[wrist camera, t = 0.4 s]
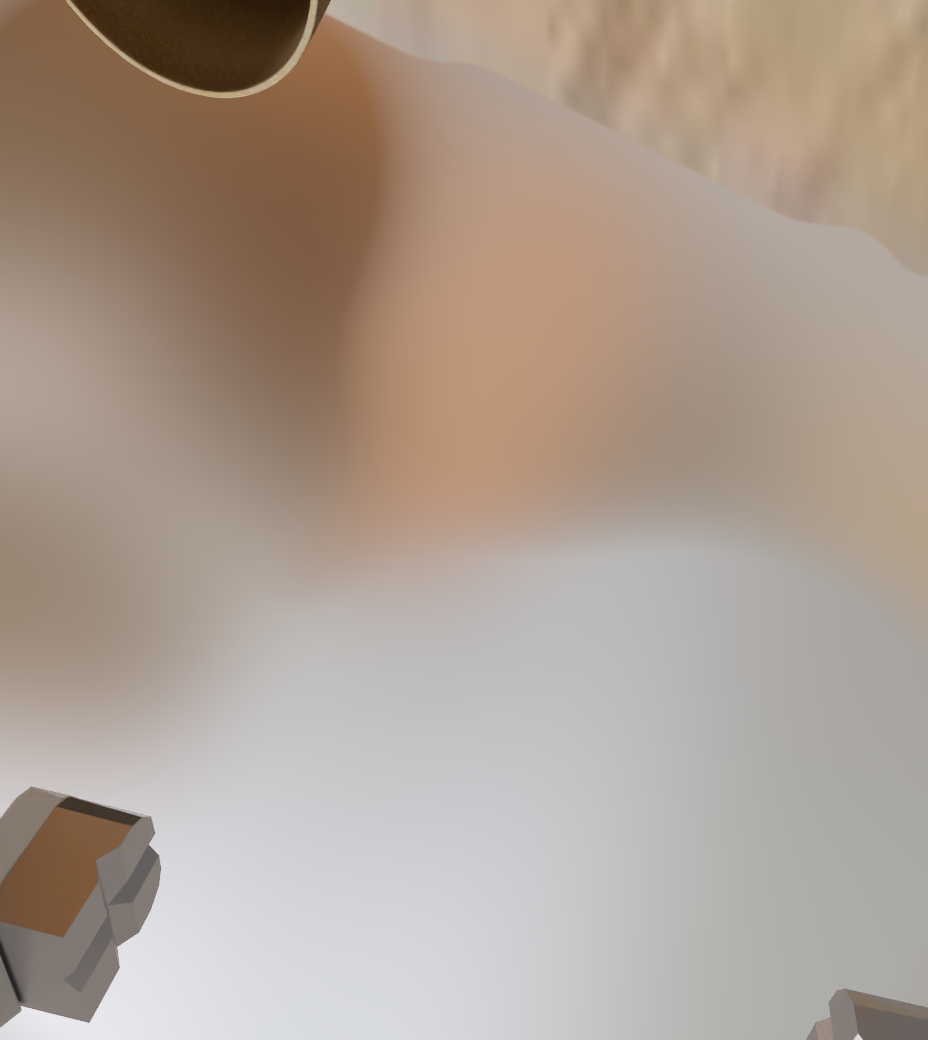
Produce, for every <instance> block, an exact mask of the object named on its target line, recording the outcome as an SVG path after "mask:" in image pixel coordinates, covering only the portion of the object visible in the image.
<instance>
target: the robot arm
mask: <svg viewBox="0 0 928 1040" xmlns="http://www.w3.org/2000/svg"><path fill="white" fill-rule="evenodd" d="M154 834H155V831H154V827H153V823H152V819H151V816H147V815H143V814H139V813H135V812H131V811H126V810H123V809H118V808H114V807H111V806H107V805H102V804H98V803H94V802H90V801H86V800H82V799H78V798H76V797H73V796H69V795H65V794H61V793H57V792H52V791H48V790H44V789H40V788H35V787H30V788H29V789H28V790H26V791H25V792H24V793H22V794H21V795H20V796H18V797H17V798H16V799H15V800H14V801H13V803H12V804H11V805H10V807H9V808H8V809H7V810H6V812H5V813H4V814H3V816H2V817H1V818H0V1027H1V1026H3V1025H4V1024H5V1023H7V1022H8V1021H9V1020H10V1019H11V1018H13V1017H14V1016H15V1015H17V1014H18V1013H19V1012H20V1011H21V1007H20V1006H24V1007H28V1008H32V1009H36V1010H40V1011H44V1012H48V1013H52V1014H56V1015H60V1016H64V1017H68V1018H73V1019H76V1020H80V1021H84V1022H88V1023H89V1022H90V1021H91V1018H92V1017H93V1015H94V1013H95V1011H96V1009H97V1008H98V1006H99V1004H100V1002H101V1001H102V999H103V997H104V995H105V993H106V992H107V990H108V988H109V986H110V984H111V982H112V981H113V979H114V977H115V975H116V973H117V972H118V970H119V959H118V950H117V946H119V945H121V944H122V943H123V942H125V941H126V940H128V939H130V938H131V937H133V936H134V935H136V934H137V933H139V931H140V929H141V927H142V925H143V924H144V922H145V920H146V918H147V916H148V914H149V912H150V910H151V908H152V904H153V902H154V899H155V895H156V893H157V890H158V887H159V880H160V871H161V866H160V859H159V855H158V854H157V853H156V852H155V851H154V850H153V849H152V848H151V847H150V846H149V843H150V841H151V839H152V838H153V836H154ZM829 1008H830V1016H831V1018H828V1019H825V1020H822V1021H819V1022H816V1023H815V1025H814V1026H813V1028H812V1030H811V1032H810V1034H809V1036H808V1037H807V1040H928V1008H927V1007H923V1006H918V1005H914V1004H910V1003H905V1002H901V1001H897V1000H892V999H888V998H883V997H879V996H874V995H870V994H866V993H861V992H857V991H853V990H848V989H842V990H838V991H836V993H835V994H834V996H833V997H832V998H831V1000H830V1001H829Z"/></svg>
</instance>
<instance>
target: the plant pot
mask: <svg viewBox="0 0 928 1040" xmlns="http://www.w3.org/2000/svg"><path fill="white" fill-rule="evenodd" d="M66 1H67V2H68V4H69V5H70V6H71V7H72V8H73V10H74V11H75V12H76V13H77V14H78V15H79V16H80V18H81V19H82V20H83V21H84V22H85V23H86V24H87V25H88V26H89V27H90V28H91V30H92V31H93V32H94V33H95V34H97V35H98V36H99V37H100V38H101V39H102V40H103V41H104V42H105V43H106V44H107V45H108V46H110V47H111V48H112V49H113V50H114V51H116V52H117V53H118V54H119V55H121V56H122V57H123V58H124V59H126V60H127V61H128V62H130V63H131V64H133V65H134V66H136V67H138V68H139V69H141V70H142V71H144V72H145V73H147V74H148V75H150V76H152V77H154V78H156V79H158V80H159V81H161V82H164V83H166V84H168V85H171V86H173V87H176V88H178V89H181V90H184V91H187V92H190V93H195V94H199V95H203V96H208V97H217V98H234V97H242V96H248V95H251V94H254V93H257V92H260V91H262V90H264V89H267V88H269V87H270V86H272V85H274V84H275V83H277V82H278V81H279V80H281V79H282V78H283V77H285V75H287V74H288V73H289V72H290V71H291V70H292V69H293V67H294V66H295V65H296V64H297V62H298V60H299V59H300V57H301V56H302V55H303V53H304V51H305V49H306V47H307V45H308V44H309V42H310V40H311V38H312V36H313V34H314V32H315V31H316V29H317V27H318V24H319V23H320V21H321V19H322V17H323V15H324V13H325V11H326V9H327V7H328V5H329V3H330V1H331V0H66Z"/></svg>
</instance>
